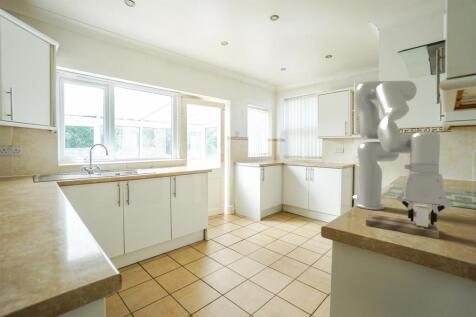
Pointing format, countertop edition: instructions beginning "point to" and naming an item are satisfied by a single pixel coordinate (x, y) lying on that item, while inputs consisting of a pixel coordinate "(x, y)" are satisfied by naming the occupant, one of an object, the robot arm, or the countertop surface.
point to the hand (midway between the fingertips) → (421, 221)
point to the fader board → (402, 225)
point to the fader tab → (422, 215)
